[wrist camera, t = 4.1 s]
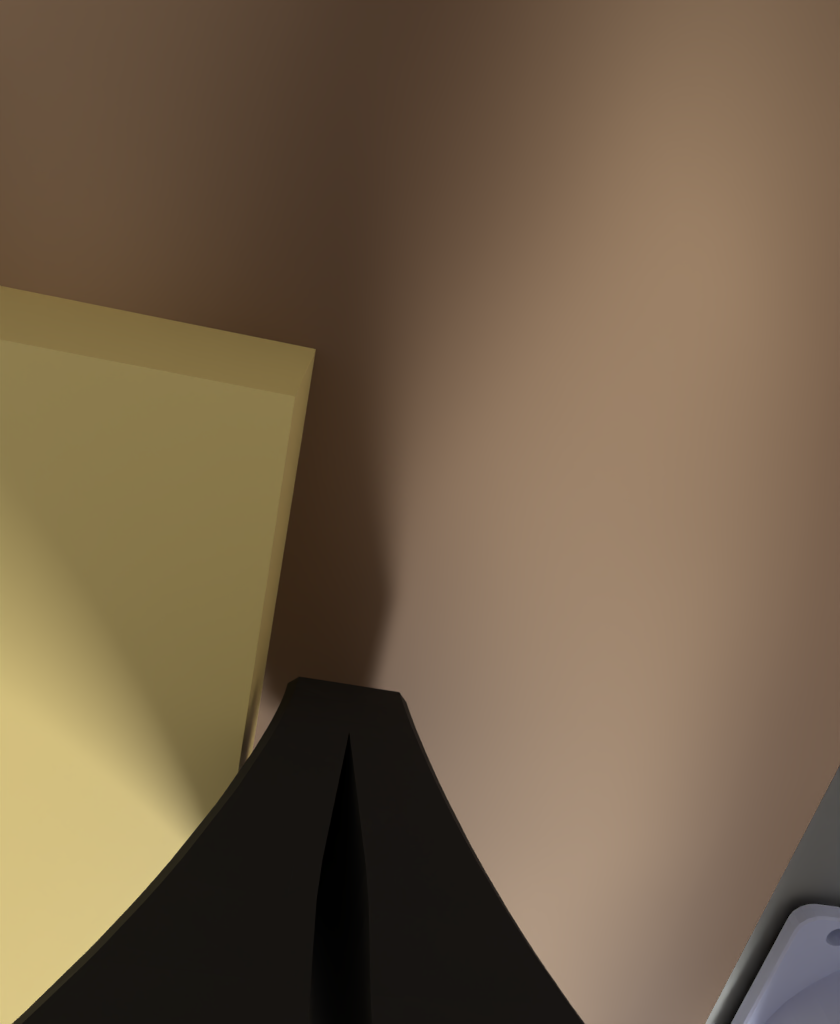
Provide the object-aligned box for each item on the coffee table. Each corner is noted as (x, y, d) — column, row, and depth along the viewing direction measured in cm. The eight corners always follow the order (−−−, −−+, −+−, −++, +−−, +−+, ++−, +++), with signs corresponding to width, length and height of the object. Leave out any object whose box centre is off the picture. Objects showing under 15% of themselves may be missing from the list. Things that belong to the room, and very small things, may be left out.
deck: (937, 96, 11) (1211, 52, 7) (555, 1022, 18) (597, 1231, 15) (-97, -175, 9) (-407, -407, 6) (-60, 956, 17) (-185, 1170, 13)
